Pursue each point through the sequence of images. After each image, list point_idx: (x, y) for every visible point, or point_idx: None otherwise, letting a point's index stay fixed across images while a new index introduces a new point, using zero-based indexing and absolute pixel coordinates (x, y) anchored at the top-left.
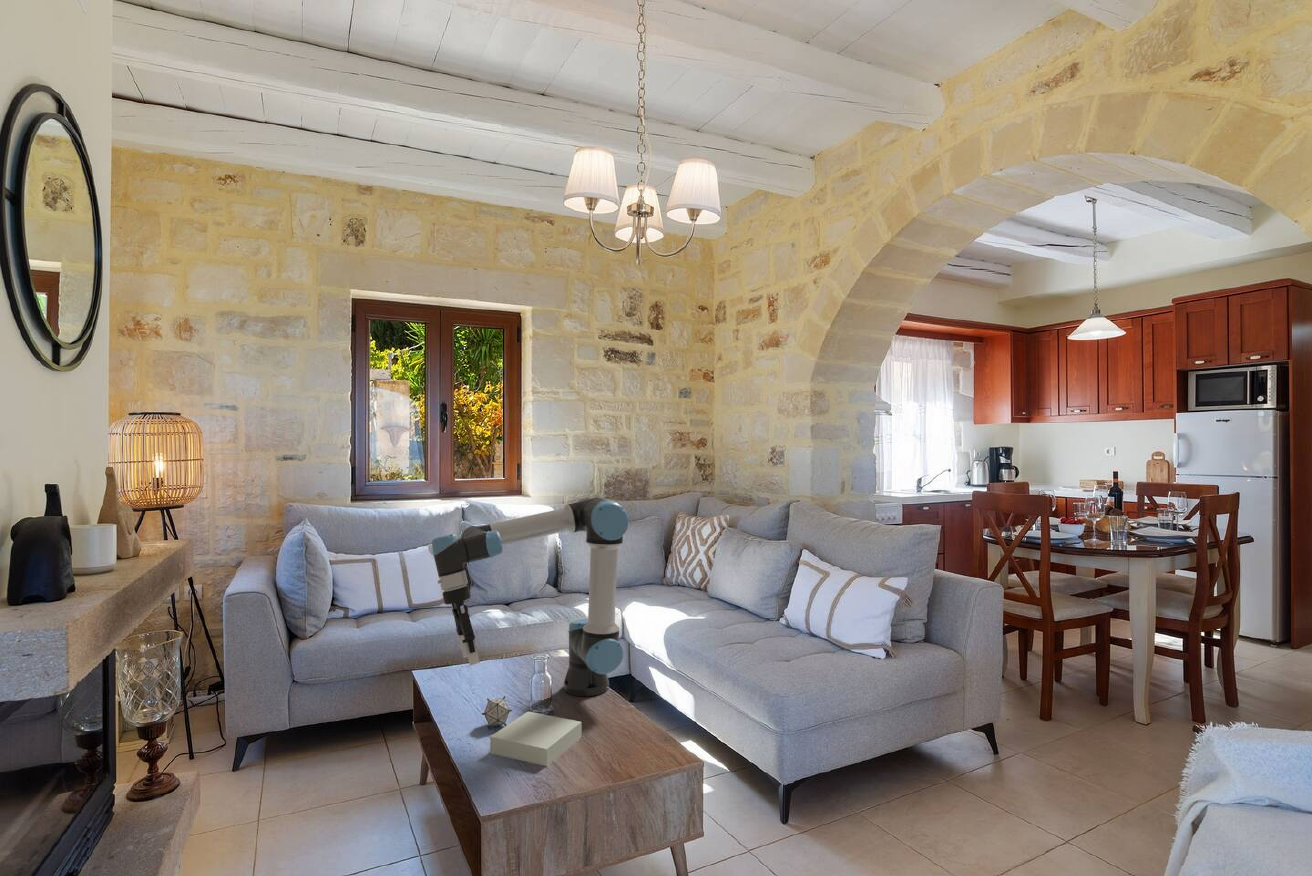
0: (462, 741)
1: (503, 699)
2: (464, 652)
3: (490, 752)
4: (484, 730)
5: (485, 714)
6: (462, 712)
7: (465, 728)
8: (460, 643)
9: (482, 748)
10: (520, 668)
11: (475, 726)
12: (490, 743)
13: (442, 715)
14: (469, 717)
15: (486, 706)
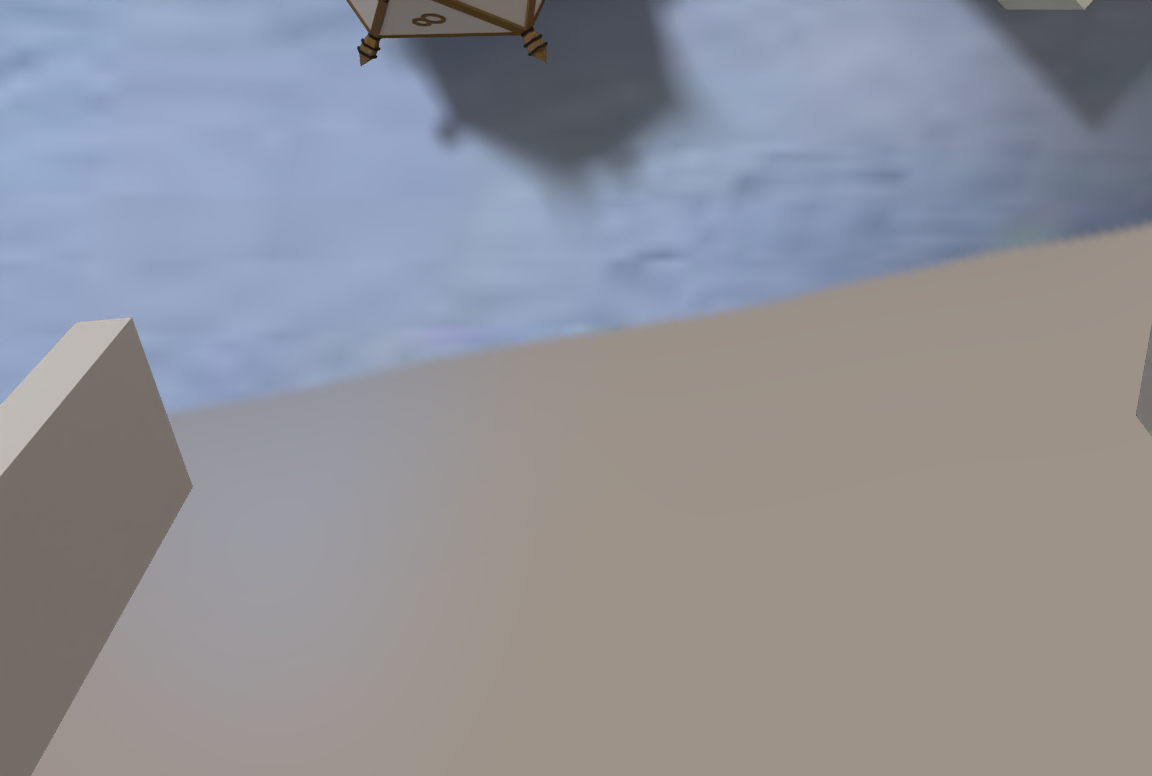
0: (692, 240)
1: None
2: (142, 522)
3: (1011, 8)
4: None
5: (531, 28)
6: (32, 239)
7: (428, 213)
8: (49, 730)
9: (887, 73)
10: None
11: (407, 119)
12: (1049, 7)
13: None
14: (174, 172)
15: (386, 8)
